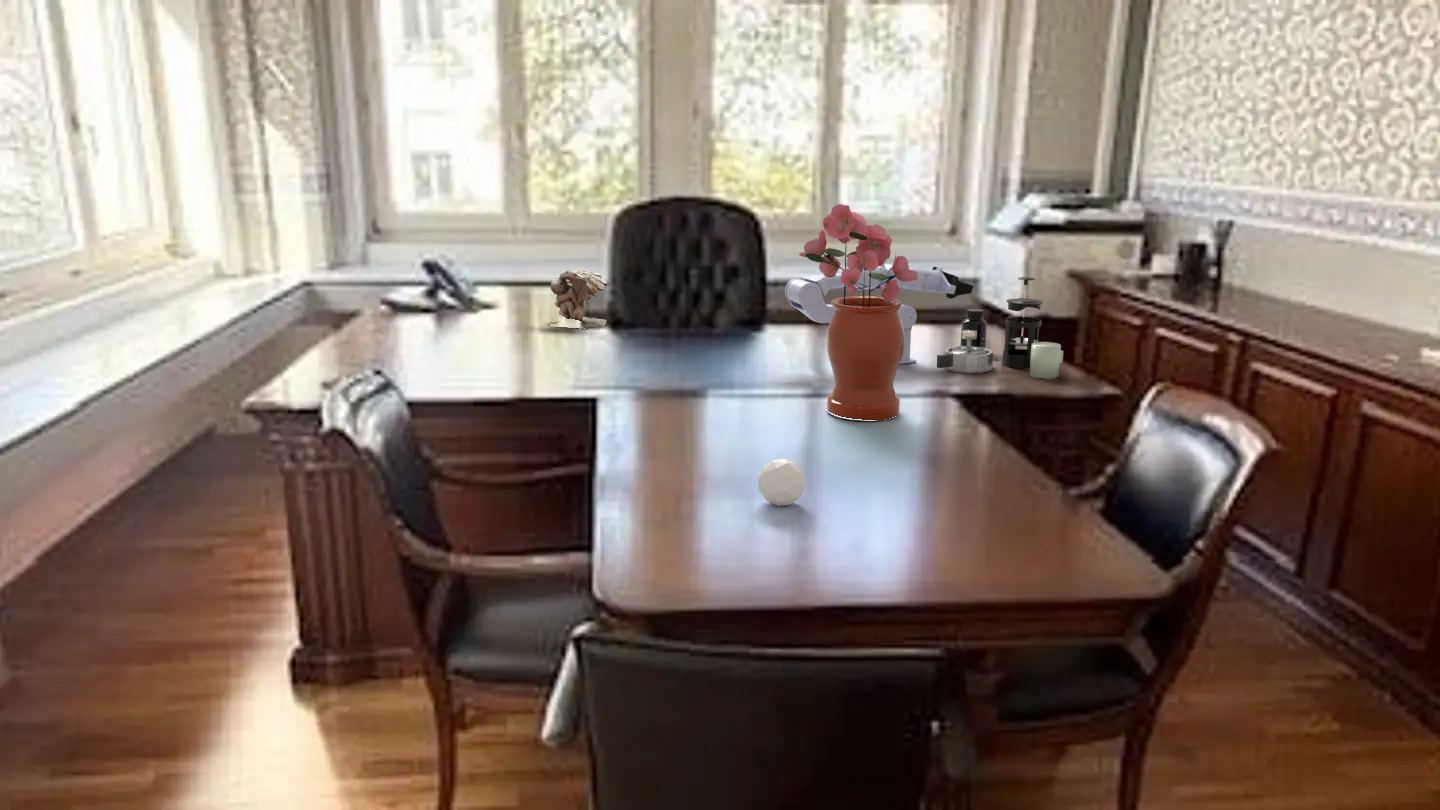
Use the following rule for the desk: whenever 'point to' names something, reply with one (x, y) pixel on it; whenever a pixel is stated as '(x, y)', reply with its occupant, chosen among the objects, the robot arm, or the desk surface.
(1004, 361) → the french press
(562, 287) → the cherub figurine
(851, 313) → the potted flower
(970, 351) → the plunger
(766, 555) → the desk surface
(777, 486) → the geometric ball
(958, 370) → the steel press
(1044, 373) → the sage mug
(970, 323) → the supplement bottle
